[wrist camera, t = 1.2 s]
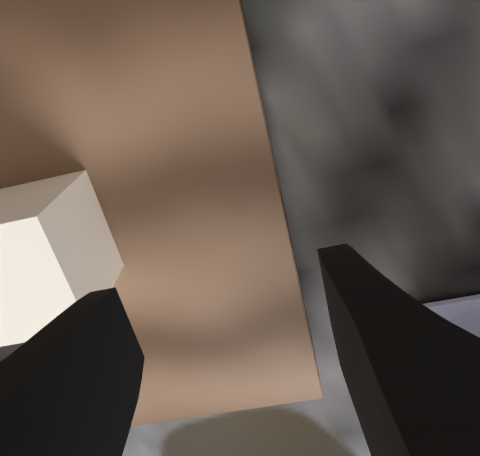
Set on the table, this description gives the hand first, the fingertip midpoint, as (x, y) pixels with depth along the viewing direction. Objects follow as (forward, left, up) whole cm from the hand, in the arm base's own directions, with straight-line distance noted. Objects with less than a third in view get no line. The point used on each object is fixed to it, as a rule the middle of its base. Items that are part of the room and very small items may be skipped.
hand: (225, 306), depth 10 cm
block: (0, +7, -7) cm, 10 cm away
